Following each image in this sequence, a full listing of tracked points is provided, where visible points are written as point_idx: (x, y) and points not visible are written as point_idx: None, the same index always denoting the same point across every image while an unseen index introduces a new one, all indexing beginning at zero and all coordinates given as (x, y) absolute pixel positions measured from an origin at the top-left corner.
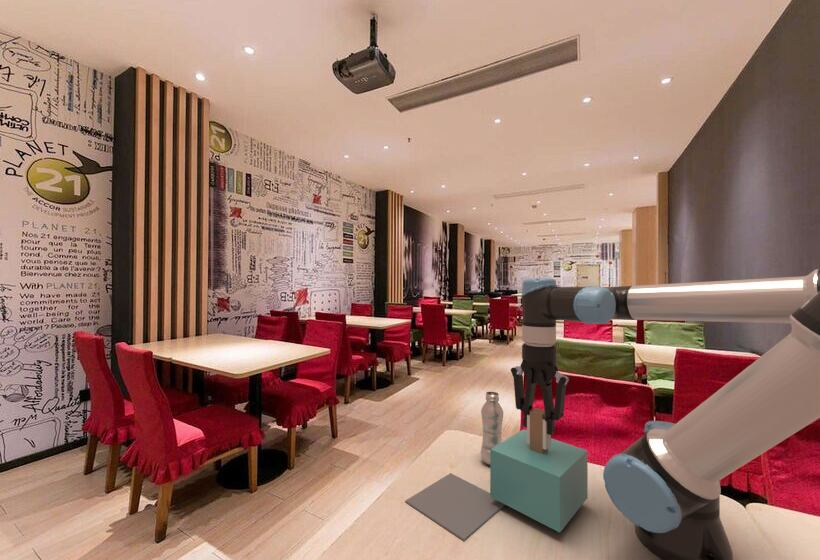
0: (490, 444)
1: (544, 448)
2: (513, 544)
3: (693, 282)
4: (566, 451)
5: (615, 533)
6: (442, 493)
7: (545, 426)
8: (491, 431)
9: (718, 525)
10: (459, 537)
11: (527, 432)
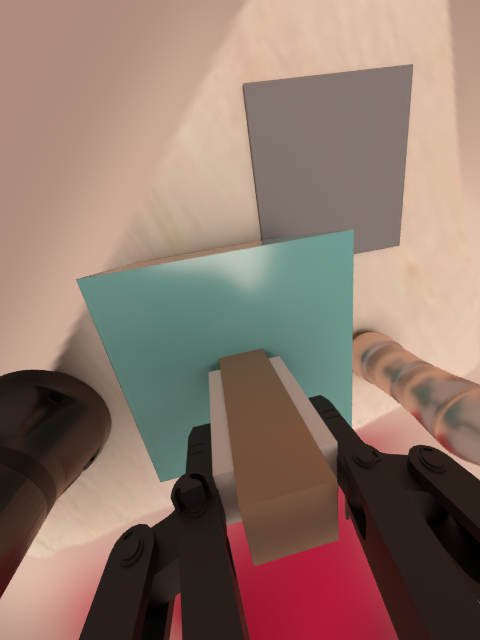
0: (390, 355)
1: (213, 372)
2: (181, 178)
3: None
4: (188, 432)
5: (110, 363)
6: (369, 170)
7: (213, 443)
8: (417, 374)
9: None
10: (254, 83)
11: (292, 379)
